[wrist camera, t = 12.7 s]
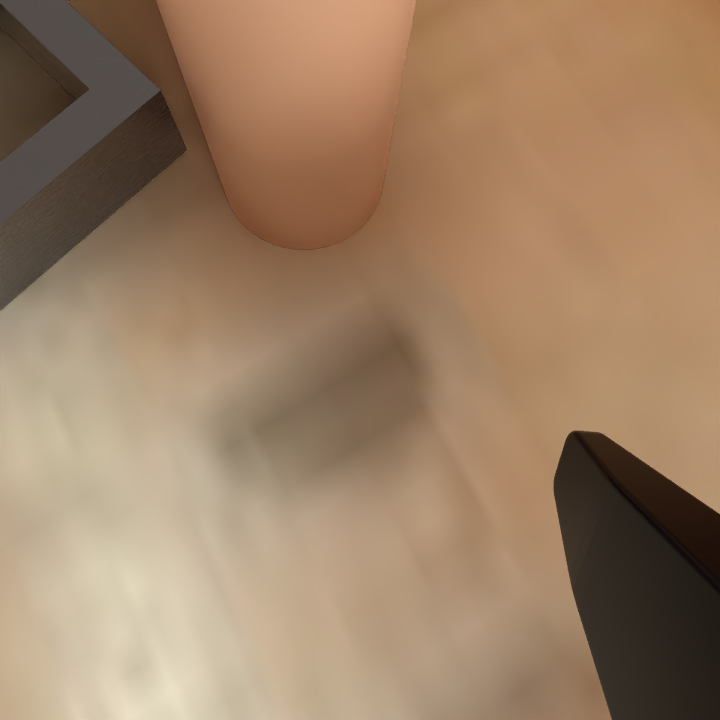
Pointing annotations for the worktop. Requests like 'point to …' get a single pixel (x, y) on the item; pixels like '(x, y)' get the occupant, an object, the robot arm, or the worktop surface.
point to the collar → (76, 142)
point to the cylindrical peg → (295, 106)
